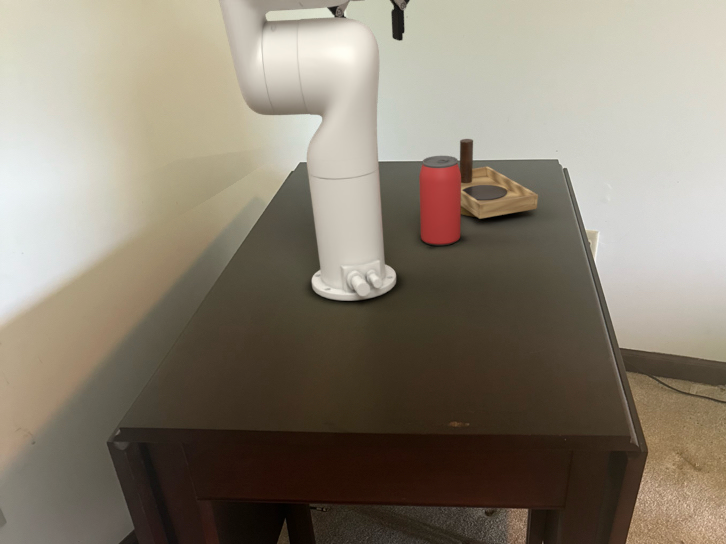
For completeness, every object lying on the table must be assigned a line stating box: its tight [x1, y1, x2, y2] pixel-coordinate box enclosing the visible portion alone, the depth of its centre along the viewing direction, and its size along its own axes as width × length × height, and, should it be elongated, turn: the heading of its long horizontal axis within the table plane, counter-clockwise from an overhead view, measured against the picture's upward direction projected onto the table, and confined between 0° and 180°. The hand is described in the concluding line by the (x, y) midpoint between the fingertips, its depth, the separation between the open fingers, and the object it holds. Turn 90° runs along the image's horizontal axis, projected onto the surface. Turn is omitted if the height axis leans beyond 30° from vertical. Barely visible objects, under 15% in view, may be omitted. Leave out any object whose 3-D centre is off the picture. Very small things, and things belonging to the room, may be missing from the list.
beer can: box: [418, 155, 462, 247], centre depth 108 cm, size 7×7×12 cm
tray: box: [459, 138, 539, 220], centre depth 120 cm, size 20×11×8 cm, turn 20°
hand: (371, 42), depth 114 cm, fingers open, 9 cm apart
